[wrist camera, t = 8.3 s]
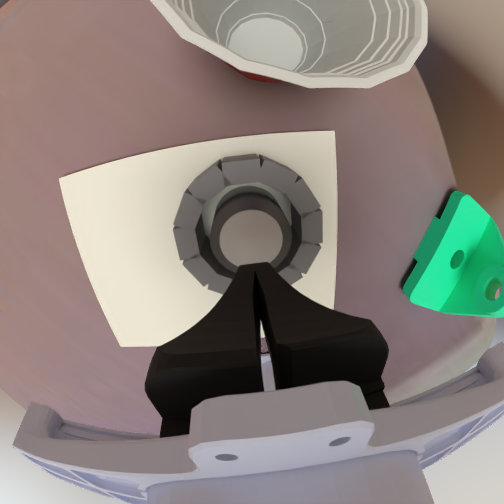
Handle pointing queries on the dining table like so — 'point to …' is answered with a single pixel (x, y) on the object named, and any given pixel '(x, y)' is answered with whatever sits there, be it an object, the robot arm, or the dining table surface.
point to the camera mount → (460, 262)
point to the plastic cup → (306, 37)
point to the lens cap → (249, 229)
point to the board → (197, 226)
